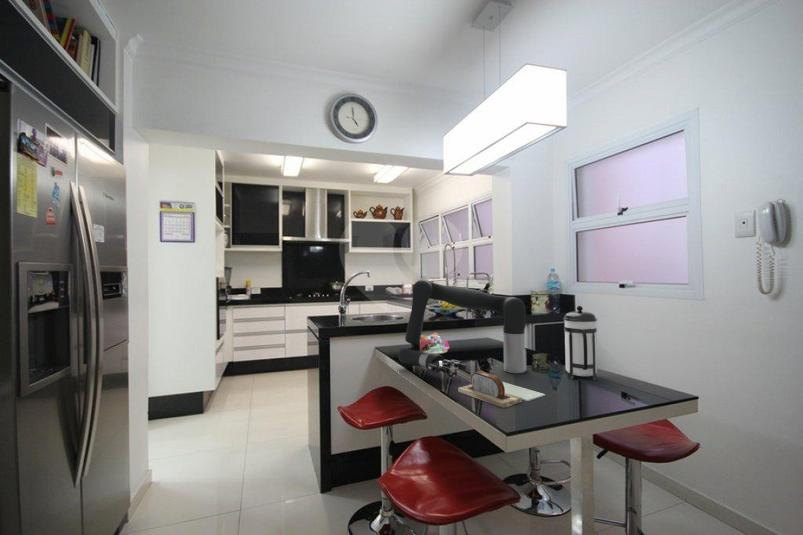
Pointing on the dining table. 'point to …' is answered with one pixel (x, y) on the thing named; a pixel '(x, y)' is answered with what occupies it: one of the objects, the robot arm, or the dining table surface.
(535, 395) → the mat
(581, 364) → the coffee press
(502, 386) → the tin
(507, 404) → the slot holder
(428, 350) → the candy landscape model
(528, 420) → the dining table surface
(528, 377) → the dining table surface
